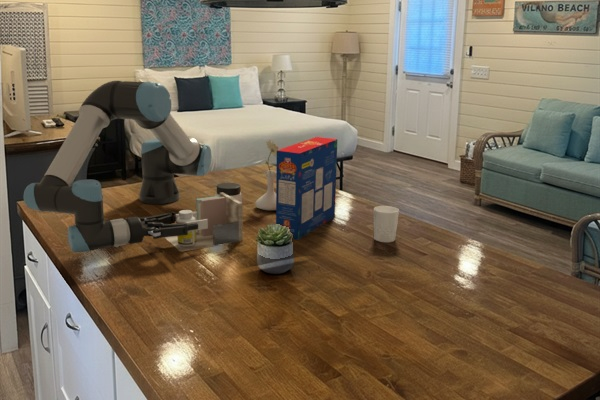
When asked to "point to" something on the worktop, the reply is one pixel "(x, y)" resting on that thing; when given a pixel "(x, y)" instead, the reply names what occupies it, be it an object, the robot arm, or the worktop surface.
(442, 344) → the worktop surface
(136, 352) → the worktop surface
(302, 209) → the pasta box
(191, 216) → the supplement bottle
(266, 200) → the flower in vase
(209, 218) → the books
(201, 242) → the shelf
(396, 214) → the white cup
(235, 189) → the jar
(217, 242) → the bookend
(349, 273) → the worktop surface
